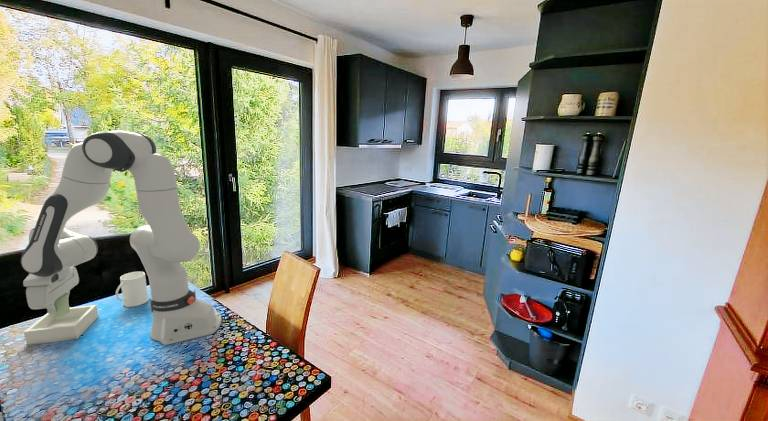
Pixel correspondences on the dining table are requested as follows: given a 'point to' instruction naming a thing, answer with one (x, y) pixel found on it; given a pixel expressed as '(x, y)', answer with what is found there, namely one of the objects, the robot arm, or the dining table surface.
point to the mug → (133, 289)
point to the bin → (61, 326)
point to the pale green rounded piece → (61, 306)
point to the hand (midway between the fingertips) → (58, 308)
